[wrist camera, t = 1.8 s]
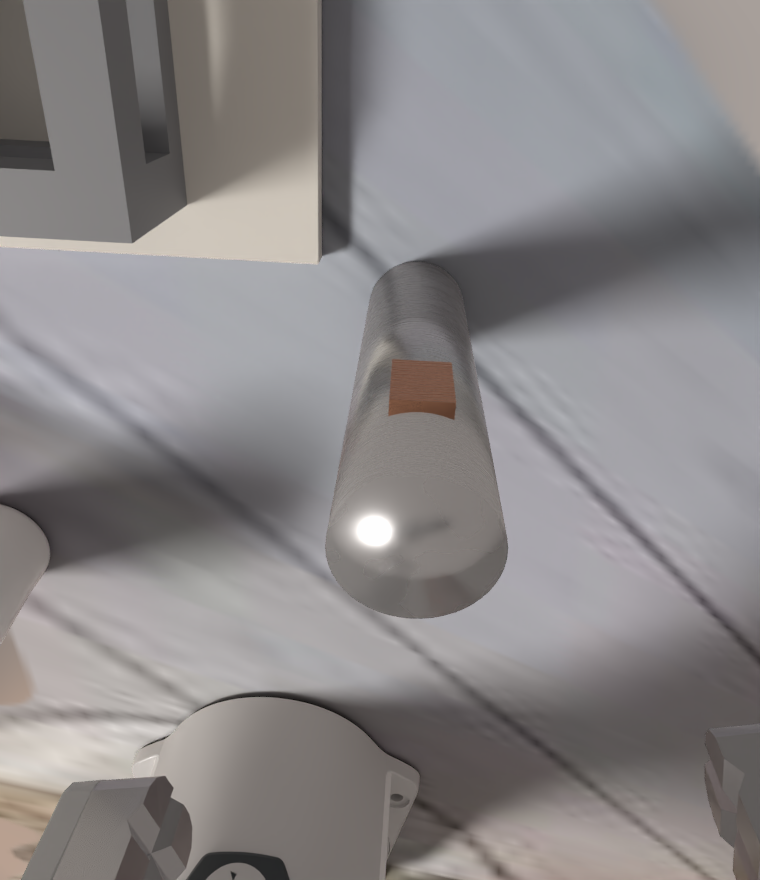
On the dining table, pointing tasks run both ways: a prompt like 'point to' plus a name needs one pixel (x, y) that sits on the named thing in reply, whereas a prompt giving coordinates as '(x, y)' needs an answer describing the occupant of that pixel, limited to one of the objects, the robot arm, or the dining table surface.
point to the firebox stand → (162, 127)
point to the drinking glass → (19, 563)
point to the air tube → (416, 458)
